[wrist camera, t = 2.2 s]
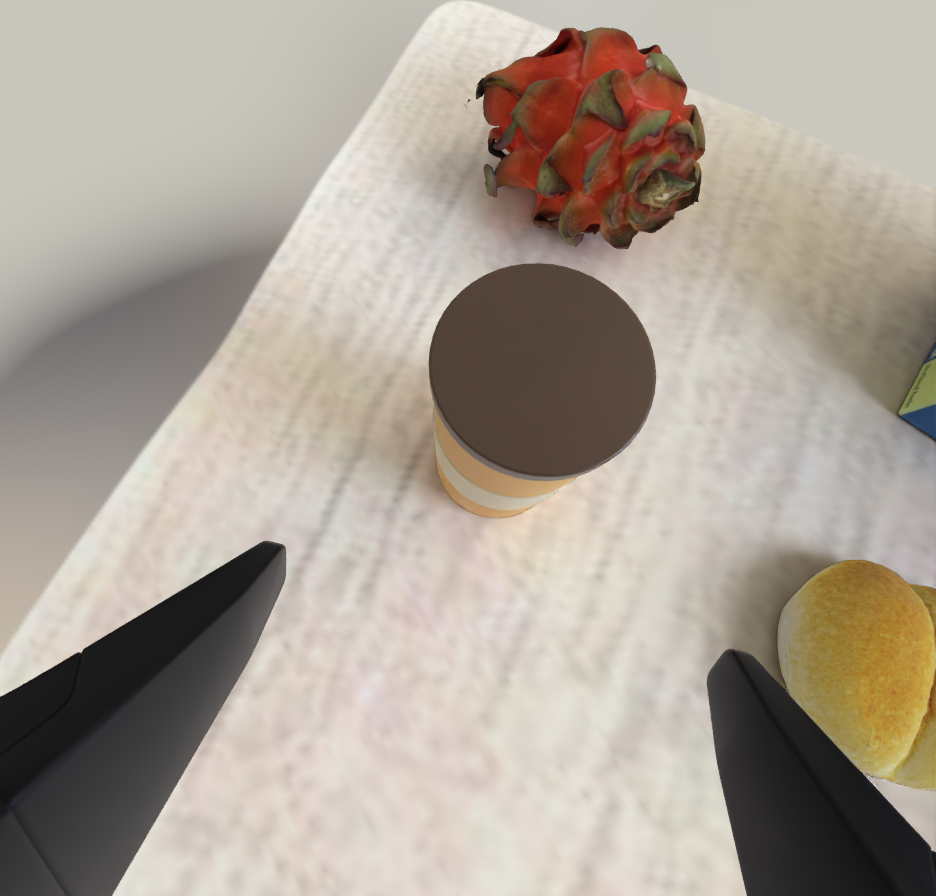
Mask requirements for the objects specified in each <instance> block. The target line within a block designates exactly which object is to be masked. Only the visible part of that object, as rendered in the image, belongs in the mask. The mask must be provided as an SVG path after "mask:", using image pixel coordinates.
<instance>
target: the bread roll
mask: <svg viewBox="0 0 936 896" xmlns="http://www.w3.org/2000/svg"><path fill="white" fill-rule="evenodd" d="M778 653H779V662H780V667H781V672H782V675H783V677H784V680H785V683H786V687H787V690H788V692H789V694H790V696H791V697H792V698H793V699H794V700H795V701H796V703H797V704H798V705H799V706H800V707H801V708H802V709H803V710H804V711H805V712H806V713H807V714H808V715H809V717H810V718H811V719H812V720H813V721H814V722H815V723H816V724H817V725H818V726H819V727H820V728H821V729H822V730H823V732H824V733H825V734H826V735H827V736H828V737H829V738H830V739H831V740H832V741H833V742H834V743H835V744H836V746H837V747H838V748H839V749H840V750H841V751H842V752H843V753H844V754H845V755H846V756H847V757H848V758H849V759H850V761H851V762H852V763H853V764H854V765H855V766H856V767H857V768H858V769H859V770H861V771H863V772H865V773H867V774H870V775H873V776H876V777H879V778H883V779H886V780H889V781H892V782H895V783H897V784H900V785H904V786H908V787H913V788H916V789H920V790H930V791H936V589H934V588H930V587H927V586H920V585H913V584H908V583H907V582H906V581H904V580H903V579H902V578H901V577H900V576H899V575H898V574H896V573H895V572H893V571H892V570H890V569H888V568H886V567H884V566H882V565H879V564H876V563H873V562H870V561H866V560H846V561H842V562H839V563H836V564H833V565H831V566H829V567H827V568H825V569H824V570H822V571H821V572H819V573H818V574H816V575H815V576H813V577H812V578H811V579H809V580H808V581H807V582H806V583H805V584H804V585H803V586H802V587H801V588H800V589H799V590H798V591H797V592H796V593H795V594H794V595H793V596H792V597H791V599H790V600H789V601H788V602H787V604H786V605H785V606H784V608H783V611H782V613H781V617H780V621H779V625H778Z"/></svg>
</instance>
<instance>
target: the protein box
mask: <svg viewBox="0 0 936 896" xmlns="http://www.w3.org/2000/svg"><path fill="white" fill-rule="evenodd" d="M898 413H899V416H901V417H902V418H904V419H905V420H907V421H908V422H910V423H911V424H913V425H914V426H916V427H918V428H919V429H921V430H922V431H924V432H925V433H927V434H928V435H930V436H931V437H933V438H934V439H936V343H935V345H934V347H933V349H932V350H931V352H930V354H929V356H928V358H927V359H926V361H925V363H924V365H923V367H922V369H921V371H920V373H919V375H918V377H917V378H916V380H915V382H914V384H913V386H912V388H911V390H910V391H909V393H908V395H907V397H906V399H905V401H904V403H903V405H902V406H901V408H900V410H899V412H898Z"/></svg>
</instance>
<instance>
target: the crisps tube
mask: <svg viewBox="0 0 936 896" xmlns="http://www.w3.org/2000/svg"><path fill="white" fill-rule="evenodd" d="M429 377H430V388H431V393H432V397H433V401H434V410H433V421H434V441H435V450H436V460H437V469H438V474H439V477H440V480H441V482H442V484H443V486H444V488H445V489H446V491H447V492H448V494H449V495H450V496H451V497H452V499H453V500H454V501H455V502H457V503H458V504H459V505H460V506H462V507H463V508H465V509H466V510H468V511H470V512H472V513H474V514H477V515H480V516H484V517H489V518H506V517H511V516H515V515H517V514H520V513H522V512H524V511H526V510H528V509H530V508H531V507H533V506H534V505H536V504H538V503H540V502H542V501H544V500H546V499H547V498H549V497H550V496H552V495H553V494H555V493H556V492H558V491H559V490H561V489H563V488H564V487H565V486H567V485H568V484H570V483H571V482H573V481H574V480H575V479H576V478H577V477H578V476H580V475H583V474H585V473H588V472H590V471H592V470H594V469H596V468H598V467H600V466H602V465H603V464H605V463H606V462H608V461H609V460H611V459H612V458H614V457H615V456H616V455H618V454H619V453H620V452H621V451H623V450H624V449H625V448H626V447H627V446H628V445H629V444H630V443H631V442H632V440H633V439H634V438H635V437H636V435H637V434H638V433H639V431H640V430H641V428H642V426H643V424H644V423H645V421H646V419H647V416H648V414H649V411H650V409H651V406H652V402H653V398H654V394H655V384H656V369H655V360H654V355H653V350H652V347H651V344H650V341H649V338H648V336H647V334H646V332H645V329H644V327H643V325H642V324H641V322H640V321H639V319H638V317H637V316H636V314H635V313H634V312H633V310H632V309H631V308H630V307H629V306H628V304H627V303H626V302H625V301H624V300H623V299H622V298H621V297H620V296H619V295H618V294H617V293H615V292H614V291H613V290H611V289H610V288H609V287H607V286H606V285H605V284H603V283H601V282H600V281H598V280H596V279H595V278H593V277H591V276H589V275H586V274H584V273H582V272H580V271H577V270H573V269H570V268H567V267H563V266H557V265H552V264H540V263H536V264H521V265H514V266H509V267H506V268H502V269H499V270H496V271H494V272H491V273H489V274H487V275H484V276H483V277H481V278H479V279H478V280H476V281H474V282H473V283H471V284H470V285H469V286H467V287H466V288H465V289H464V290H462V291H461V292H460V293H459V294H458V295H457V296H456V297H455V298H454V299H453V300H452V302H451V303H450V304H449V306H448V307H447V308H446V310H445V311H444V313H443V314H442V316H441V318H440V320H439V322H438V324H437V326H436V329H435V332H434V334H433V337H432V342H431V346H430V353H429Z"/></svg>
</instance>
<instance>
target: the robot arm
mask: <svg viewBox="0 0 936 896" xmlns="http://www.w3.org/2000/svg"><path fill="white" fill-rule="evenodd" d="M285 577H286V548H285V546H284V545H282V544H279V543H275V542H271V541H263V542H261V543H259V544H258V545H256V546H254V547H253V548H251V549H249V550H248V551H246V552H244V553H243V554H241V555H239V556H238V557H236V558H234V559H233V560H231V561H229V562H228V563H226V564H224V565H223V566H221V567H219V568H218V569H216V570H214V571H213V572H211V573H209V574H208V575H206V576H204V577H203V578H201V579H199V580H198V581H196V582H194V583H193V584H191V585H189V586H188V587H186V588H184V589H183V590H181V591H179V592H178V593H176V594H174V595H173V596H171V597H169V598H168V599H166V600H164V601H163V602H161V603H159V604H158V605H156V606H154V607H153V608H151V609H149V610H148V611H146V612H144V613H143V614H141V615H139V616H138V617H136V618H134V619H133V620H131V621H129V622H128V623H126V624H124V625H123V626H121V627H119V628H118V629H116V630H114V631H113V632H111V633H110V634H108V635H106V636H105V637H103V638H101V639H100V640H98V641H96V642H95V643H93V644H91V645H90V646H88V647H86V648H85V649H83V651H82V653H80V652H78V653H76V654H74V655H73V656H71V657H69V658H68V659H66V660H64V661H63V662H61V663H59V664H58V665H56V666H54V667H53V668H51V669H49V670H47V671H46V672H44V673H42V674H40V675H39V676H37V677H35V678H34V679H32V680H30V681H28V682H27V683H25V684H23V685H21V686H20V687H18V688H16V689H14V690H12V691H11V692H9V693H7V694H5V695H3V696H1V697H0V896H112V894H113V893H114V891H115V889H116V888H117V886H118V884H119V882H120V881H121V879H122V877H123V876H124V874H125V872H126V870H127V869H128V867H129V865H130V864H131V862H132V860H133V858H134V857H135V855H136V853H137V852H138V850H139V848H140V846H141V845H142V843H143V841H144V840H145V838H146V836H147V834H148V833H149V831H150V829H151V828H152V826H153V824H154V822H155V821H156V819H157V817H158V816H159V814H160V812H161V810H162V809H163V807H164V805H165V804H166V802H167V800H168V798H169V797H170V795H171V793H172V792H173V790H174V788H175V786H176V785H177V783H178V781H179V780H180V778H181V776H182V774H183V773H184V771H185V769H186V768H187V766H188V764H189V762H190V761H191V759H192V757H193V756H194V754H195V752H196V750H197V749H198V747H199V745H200V744H201V742H202V740H203V738H204V737H205V735H206V733H207V732H208V730H209V728H210V726H211V725H212V723H213V721H214V720H215V718H216V716H217V714H218V713H219V711H220V709H221V708H222V706H223V704H224V702H225V701H226V699H227V697H228V696H229V694H230V692H231V690H232V689H233V687H234V685H235V684H236V682H237V680H238V678H239V677H240V675H241V673H242V672H243V670H244V668H245V666H246V665H247V663H248V661H249V659H250V657H251V655H252V653H253V651H254V649H255V647H256V645H257V643H258V640H259V638H260V636H261V634H262V631H263V629H264V627H265V625H266V622H267V620H268V618H269V616H270V614H271V611H272V609H273V607H274V605H275V602H276V600H277V598H278V596H279V593H280V591H281V589H282V587H283V584H284V581H285ZM707 689H708V697H709V705H710V713H711V721H712V729H713V737H714V745H715V752H716V759H717V765H718V770H719V775H720V779H721V784H722V788H723V793H724V797H725V801H726V806H727V810H728V815H729V819H730V823H731V828H732V832H733V837H734V841H735V845H736V850H737V854H738V859H739V863H740V868H741V872H742V876H743V881H744V885H745V890H746V894H747V896H936V852H935V851H931V847H930V846H929V844H928V843H927V842H926V841H925V840H924V839H923V838H922V837H921V836H920V835H919V834H918V833H917V831H916V830H915V829H914V828H913V827H912V826H911V825H910V824H909V823H908V822H907V821H906V820H905V819H904V818H903V816H902V815H901V814H900V813H899V812H898V811H897V810H896V809H895V808H894V807H893V806H892V805H891V804H890V802H889V801H888V800H887V799H886V798H885V797H884V796H883V795H882V794H881V793H880V792H879V791H878V790H877V789H876V787H875V786H874V785H873V784H872V783H871V782H870V781H869V780H868V779H867V778H866V777H865V776H864V775H863V773H862V772H861V771H860V770H859V769H858V768H857V767H856V766H855V765H854V764H853V763H852V762H851V761H850V759H849V758H848V757H847V756H846V755H845V754H844V753H843V752H842V751H841V750H840V749H839V748H838V747H837V746H836V744H835V743H834V742H833V741H832V740H831V739H830V738H829V737H828V736H827V735H826V734H825V733H824V732H823V730H822V729H821V728H820V727H819V726H818V725H817V724H816V723H815V722H814V721H813V720H812V719H811V718H810V717H809V715H808V714H807V713H806V712H805V711H804V710H803V709H802V708H801V707H800V706H799V705H798V704H797V703H796V701H795V700H794V699H793V698H792V697H791V696H790V695H789V694H788V693H787V692H786V691H785V690H784V689H783V688H782V686H781V685H780V684H779V683H778V682H777V681H776V680H775V679H774V678H773V677H772V676H771V675H770V674H769V672H768V671H767V670H766V669H765V668H764V667H763V666H762V665H761V664H760V663H759V662H758V661H757V660H756V659H755V657H753V656H752V655H751V654H750V653H747V652H744V651H740V650H735V649H727V650H725V651H724V653H723V654H722V655H721V657H720V658H719V659H718V660H717V662H716V663H715V664H714V666H713V667H712V668H711V670H710V671H709V674H708V677H707Z"/></svg>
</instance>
